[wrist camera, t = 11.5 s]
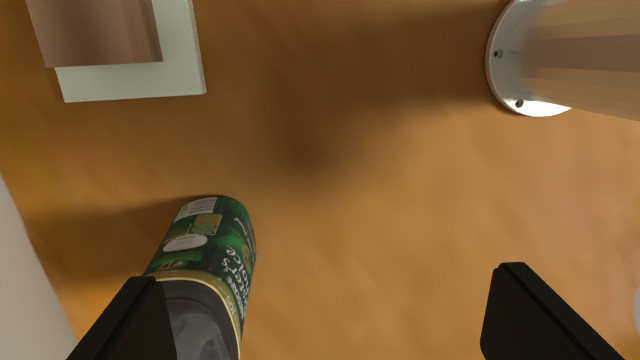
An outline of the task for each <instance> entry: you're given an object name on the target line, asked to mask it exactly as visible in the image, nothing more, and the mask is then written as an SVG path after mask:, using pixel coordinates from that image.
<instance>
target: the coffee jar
mask: <svg viewBox="0 0 640 360" xmlns="http://www.w3.org/2000/svg"><path fill="white" fill-rule="evenodd" d="M255 261H256V242H255V236H254V231H253V227H252V224H251V221H250V218H249V215H248V213H247V210H246V209H245V207H244V206H243V205H242V204H241V203H240V202H238V201H237V200H235V199H232V198H229V197H208V198H202V199H198V200H195V201H192V202H189V203H188V204H186V205H185V206H183V207H182V208H181V210H180V211H179V213H178V214H177V216H176V217H175V219H174V221H173V223H172V224H171V226H170V228H169V230H168V232H167V234H166V236H165V238H164V240H163V242H162V243H161V245H160V246H159V249H158V250H157V252H156V253H155V255H154V257H153V259H152V260H151V262H150V264H149V265H148V267H147V269H146V270H145V272H144V273H143V274H142V276H154V277H155V279H156V281H161V282H162V285H163V289H164V294H165V298H166V303H167V308H168V313H169V317H170V322H171V327H172V332H173V337H174V341H175V346H176V351H177V360H239V358H240V350H241V341H242V332H243V324H244V318H245V312H246V307H247V302H248V296H249V290H250V285H251V280H252V276H253V271H254V266H255Z"/></svg>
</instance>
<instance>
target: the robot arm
mask: <svg viewBox="0 0 640 360" xmlns="http://www.w3.org/2000/svg"><path fill="white" fill-rule="evenodd" d="M494 52H495V56H494ZM485 72H486V76H487V81H488V84H489V86H490V88H491V90H492V93H493V94H494V95H495V97H496V98H497V99H498V101H499V102H500V103H502V104H503V105H504V106H505V107H506V108H508V109H510V110H512V111H514V112H516V113H519V114H522V115H526V116H532V117H548V116H552V115H556V114H560V113H562V112H565V111H567V110H569V109H571V108H574V109H579V110H584V111H589V112H594V113H600V114H605V115H610V116H615V117H620V118H625V119H630V120H635V121H640V0H512V1H511V2H510V3H509V4H508V5H507V6H506V7H505V8H504V10H503V11H502V13H501V14H500V15H499V17H498V18H497V20H496V22H495V24H494V26H493V28H492V30H491V33H490V36H489V39H488V42H487V47H486V53H485ZM480 347H481V351H482V353H483V355H484V357H485V359H486V360H625V359H624V358H623V357H622V356H621V355H620V354H619V353H618V352H617V351H616V350H615V349H613V348H612V347H611V346H610V345H609V344H608V343H607V342H606V341H605V340H604V339H603V338H602V337H601V336H600V335H599V334H598V333H597V332H596V331H595V330H594V329H593V328H592V327H591V326H590V325H589V324H588V323H587V322H586V321H585V320H584V319H583V318H581V317H580V316H579V315H578V314H577V313H576V312H575V311H574V310H573V309H572V308H571V307H570V306H569V305H568V304H567V303H566V302H565V301H564V300H563V299H562V298H561V297H560V296H559V295H558V294H557V293H556V292H555V291H554V290H553V289H552V288H550V287H549V286H548V285H547V284H546V283H545V282H544V281H543V280H542V279H541V278H540V277H539V276H538V275H537V274H536V273H535V272H534V271H533V270H532V269H531V268H530V267H529V266H528V265H527V264H525V263H524V262H507V263H501V264H500V265H499V267H498V268H495V269H494V271H493V274H492V280H491V285H490V290H489V296H488V301H487V306H486V311H485V317H484V322H483V327H482V333H481V338H480ZM66 360H177V351H176V346H175V341H174V337H173V332H172V327H171V322H170V317H169V313H168V308H167V303H166V298H165V294H164V289H163V285H162V282H161V281H156V279H155V277H154V276H136V277H130V278H129V279H128V280H127V281H126V283H125V284H124V285H123V287H122V288H121V289H120V290H119V292H118V293H117V294H116V296H115V297H114V298H113V300H112V301H111V302H110V303H109V305H108V306H107V307H106V309H105V310H104V311H103V313H102V314H101V315H100V317H99V318H98V319H97V320H96V322H95V323H94V324H93V326H92V327H91V328H90V330H89V331H88V332H87V333H86V335H85V336H84V337H83V338H82V339H81V341H80V342H79V343H78V345H77V346H76V347H75V349H74V350H73V351H72V352H71V354H70V355H69V356H68V358H67V359H66Z"/></svg>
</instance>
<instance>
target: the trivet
mask: <svg viewBox="0 0 640 360" xmlns="http://www.w3.org/2000/svg"><path fill="white" fill-rule="evenodd" d="M152 5H153V10H154V16H155V21H156V26H157V31H158V37H159V42H160V47H161V52H162V58H163V62H150V63H134V64H114V65H93V66H73V67H55V71H56V74H57V77H58V81H59V84H60V87H61V91H62V94H63V97H64V101H65V103H67V102H84V101H100V100H117V99H133V98H150V97H166V96H183V95H199V94H205V93H207V90H206V84H205V77H204V71H203V65H202V58H201V52H200V46H199V40H198V33H197V27H196V21H195V15H194V8H193V2H192V0H152Z"/></svg>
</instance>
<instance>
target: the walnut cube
mask: <svg viewBox="0 0 640 360" xmlns="http://www.w3.org/2000/svg"><path fill="white" fill-rule="evenodd" d="M25 1H26V4H27V7H28V11H29V14H30V17H31V21H32V24H33V27H34V31H35V34H36V37H37V41H38V44H39V47H40V51H41V54H42V57H43V61H44V64H45V67H46V68H53V67H73V66H93V65H114V64H134V63H150V62H163V58H162V52H161V47H160V42H159V37H158V31H157V26H156V21H155V16H154V10H153V5H152V0H25Z"/></svg>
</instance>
